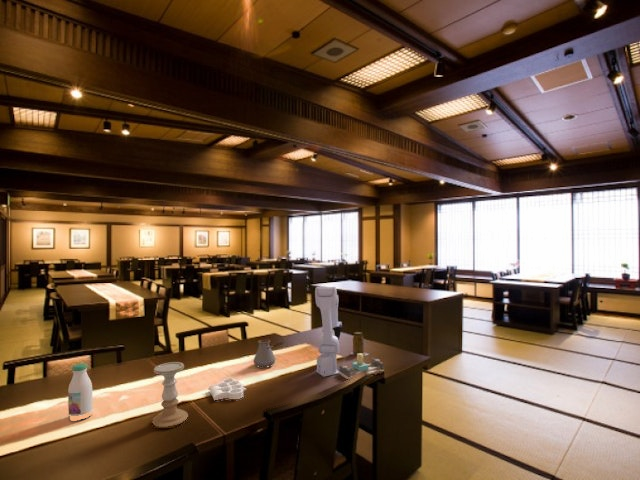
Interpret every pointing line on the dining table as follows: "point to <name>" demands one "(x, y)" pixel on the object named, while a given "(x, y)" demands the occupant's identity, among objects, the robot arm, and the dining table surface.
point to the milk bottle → (80, 391)
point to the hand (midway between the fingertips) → (333, 341)
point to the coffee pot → (265, 354)
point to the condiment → (358, 344)
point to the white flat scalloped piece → (227, 389)
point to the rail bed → (373, 368)
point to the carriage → (360, 363)
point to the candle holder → (169, 396)
